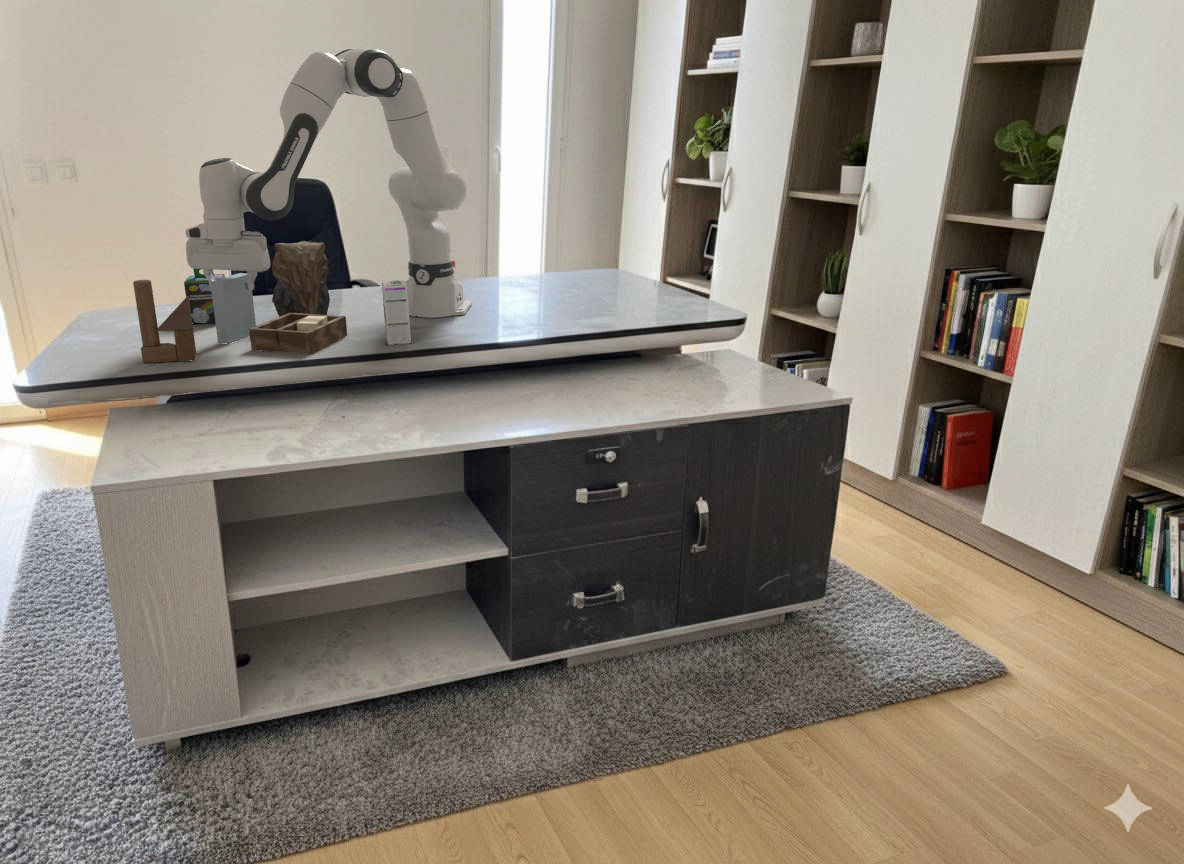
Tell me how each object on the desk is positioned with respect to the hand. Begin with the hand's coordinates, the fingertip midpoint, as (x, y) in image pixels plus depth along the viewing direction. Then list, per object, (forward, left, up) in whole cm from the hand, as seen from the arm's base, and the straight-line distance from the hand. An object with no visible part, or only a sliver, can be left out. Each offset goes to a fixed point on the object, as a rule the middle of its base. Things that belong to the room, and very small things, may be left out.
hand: (232, 288), depth 224 cm
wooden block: (+22, -3, -13) cm, 26 cm away
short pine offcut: (0, +20, -8) cm, 22 cm away
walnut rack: (0, +17, -12) cm, 21 cm away
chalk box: (-16, -18, -13) cm, 27 cm away
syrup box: (-7, +39, -12) cm, 41 cm away
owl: (-24, +5, -12) cm, 27 cm away
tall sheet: (0, 0, -12) cm, 12 cm away
